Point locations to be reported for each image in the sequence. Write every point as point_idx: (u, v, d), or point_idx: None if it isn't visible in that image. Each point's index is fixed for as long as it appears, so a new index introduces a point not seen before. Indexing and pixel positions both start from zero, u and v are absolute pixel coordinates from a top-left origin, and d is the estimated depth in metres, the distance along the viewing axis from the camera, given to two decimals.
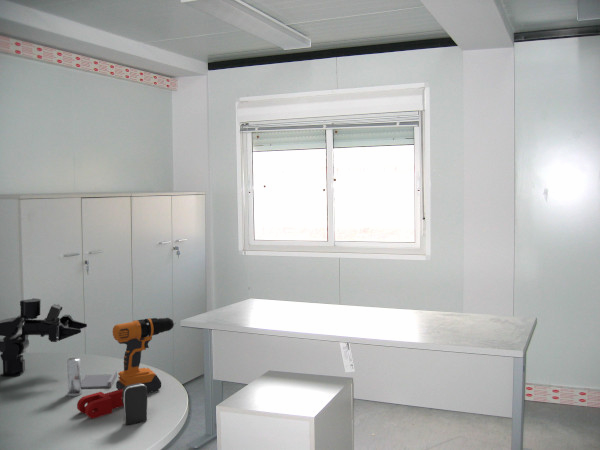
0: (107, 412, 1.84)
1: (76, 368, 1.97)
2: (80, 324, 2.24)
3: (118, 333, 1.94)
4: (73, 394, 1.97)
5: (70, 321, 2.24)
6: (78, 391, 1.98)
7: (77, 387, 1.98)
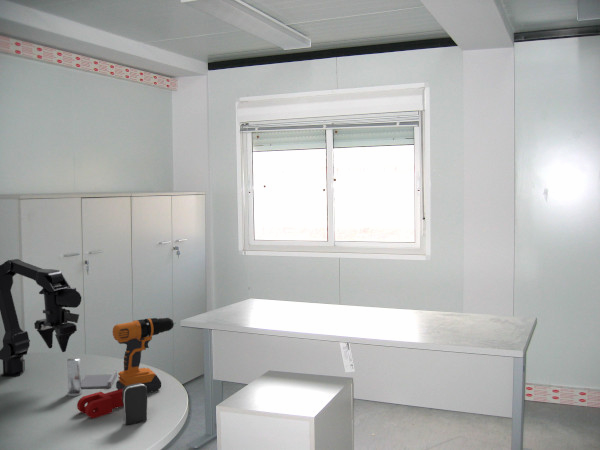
0: (107, 412, 1.84)
1: (76, 368, 1.97)
2: (50, 341, 2.12)
3: (118, 333, 1.94)
4: (73, 394, 1.97)
5: (51, 330, 2.13)
6: (78, 391, 1.98)
7: (77, 387, 1.98)
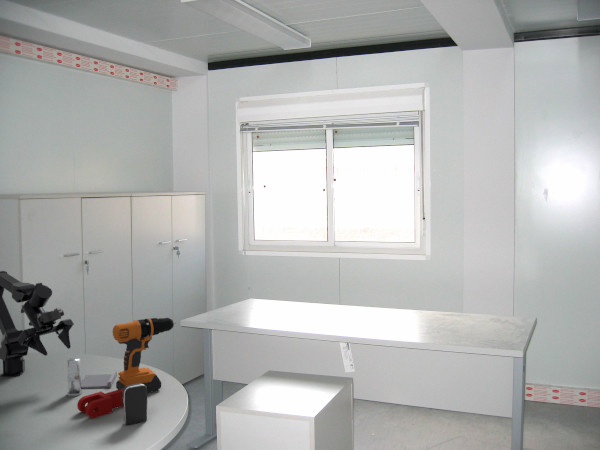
0: (107, 412, 1.84)
1: (76, 368, 1.97)
2: (66, 342, 2.06)
3: (118, 333, 1.94)
4: (73, 394, 1.97)
5: (63, 331, 2.08)
6: (78, 391, 1.98)
7: (77, 387, 1.98)
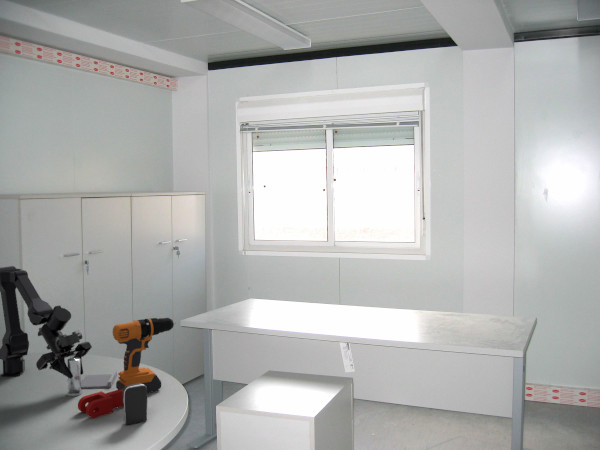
0: (108, 412, 1.84)
1: (76, 368, 1.97)
2: None
3: (118, 333, 1.94)
4: (73, 394, 1.97)
5: (76, 356, 2.01)
6: (78, 391, 1.98)
7: (77, 387, 1.98)
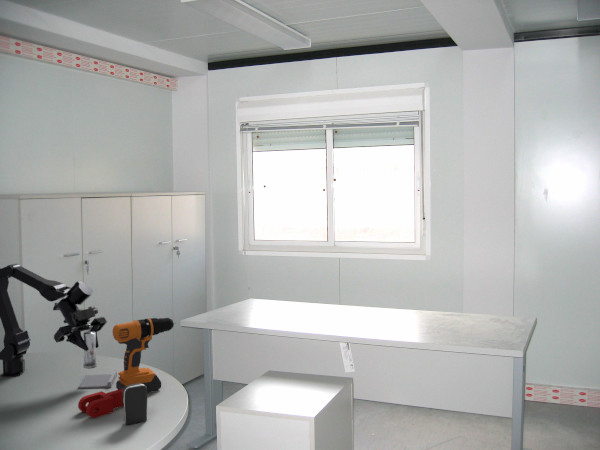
0: (108, 411, 1.84)
1: (92, 341, 2.05)
2: None
3: (118, 333, 1.94)
4: (89, 366, 2.05)
5: (92, 330, 2.09)
6: (93, 363, 2.06)
7: (92, 360, 2.05)
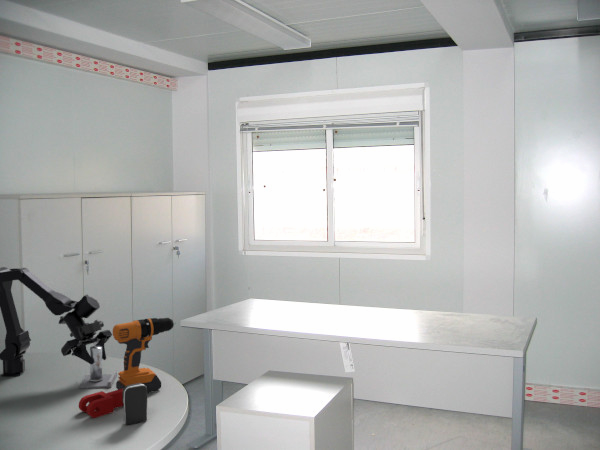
0: (109, 411, 1.84)
1: (99, 356, 2.09)
2: (102, 353, 2.12)
3: (118, 333, 1.94)
4: (95, 380, 2.09)
5: (99, 343, 2.13)
6: (100, 377, 2.10)
7: (99, 373, 2.09)
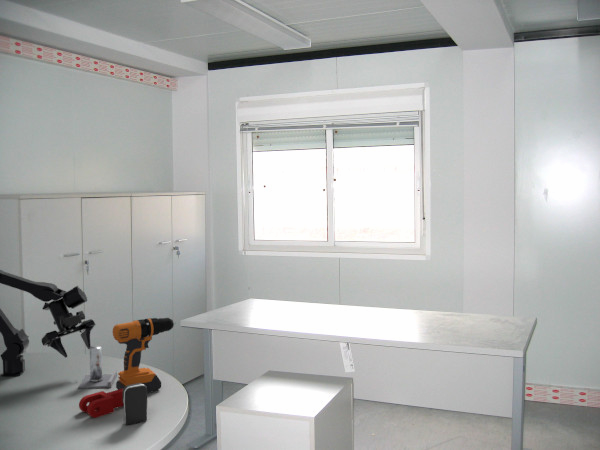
0: (109, 411, 1.84)
1: (98, 356, 2.09)
2: (87, 342, 2.18)
3: (118, 333, 1.94)
4: (95, 380, 2.09)
5: (85, 332, 2.19)
6: (100, 377, 2.10)
7: (98, 373, 2.09)
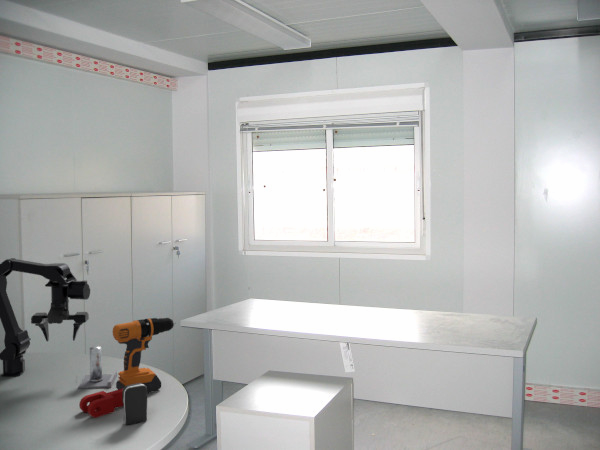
0: (109, 411, 1.84)
1: (98, 356, 2.09)
2: (73, 334, 2.16)
3: (118, 333, 1.94)
4: (95, 380, 2.09)
5: None
6: (100, 377, 2.10)
7: (98, 373, 2.09)
